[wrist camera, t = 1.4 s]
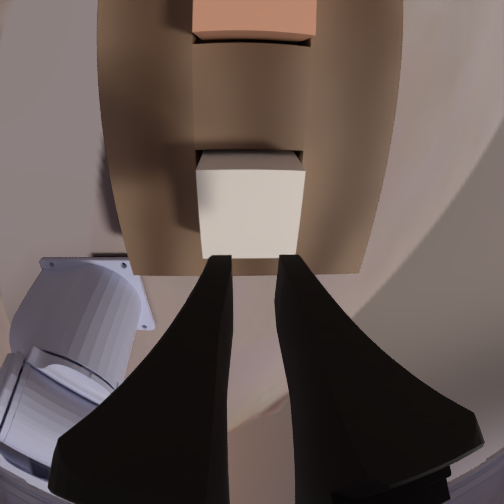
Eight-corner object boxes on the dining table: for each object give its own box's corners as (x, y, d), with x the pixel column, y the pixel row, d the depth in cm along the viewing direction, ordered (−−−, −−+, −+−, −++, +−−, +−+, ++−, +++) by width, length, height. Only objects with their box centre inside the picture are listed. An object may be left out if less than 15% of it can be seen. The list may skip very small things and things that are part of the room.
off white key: (208, 223, 16) (202, 258, 14) (204, 148, 14) (195, 170, 11) (285, 223, 16) (294, 257, 14) (292, 149, 14) (305, 170, 11)
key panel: (146, 243, 19) (133, 275, 17) (128, -46, 8) (106, -63, 5) (343, 242, 20) (358, 273, 17) (373, -39, 8) (399, -54, 6)
